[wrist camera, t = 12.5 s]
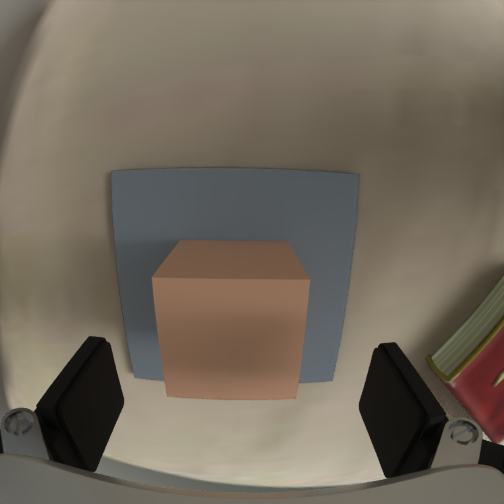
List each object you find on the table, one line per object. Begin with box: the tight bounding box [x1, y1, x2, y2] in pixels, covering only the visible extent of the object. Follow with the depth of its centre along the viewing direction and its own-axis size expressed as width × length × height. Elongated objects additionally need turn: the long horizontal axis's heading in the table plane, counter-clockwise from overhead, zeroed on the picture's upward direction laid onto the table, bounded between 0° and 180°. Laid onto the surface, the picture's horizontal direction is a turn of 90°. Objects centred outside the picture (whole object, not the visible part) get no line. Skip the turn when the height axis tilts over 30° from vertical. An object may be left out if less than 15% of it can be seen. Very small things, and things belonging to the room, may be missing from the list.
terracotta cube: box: [152, 240, 310, 400], centre depth 15 cm, size 6×6×6 cm
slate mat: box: [111, 168, 359, 383], centre depth 19 cm, size 14×14×1 cm
